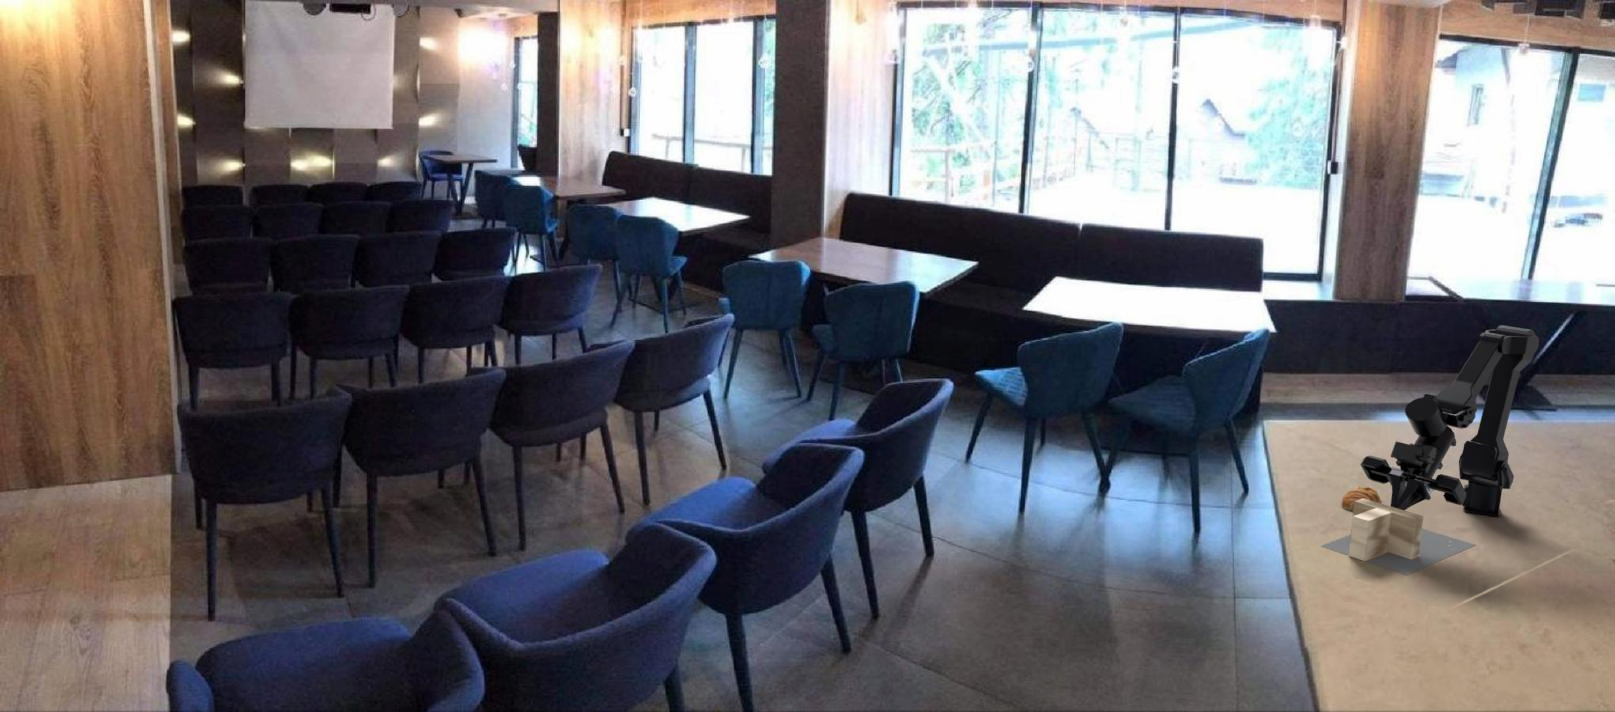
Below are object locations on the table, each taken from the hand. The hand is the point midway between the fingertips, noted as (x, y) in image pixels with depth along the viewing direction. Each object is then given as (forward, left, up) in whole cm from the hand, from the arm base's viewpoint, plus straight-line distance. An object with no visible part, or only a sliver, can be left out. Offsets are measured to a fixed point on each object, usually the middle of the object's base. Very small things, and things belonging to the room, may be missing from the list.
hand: (1392, 514), depth 225 cm
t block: (+2, +5, -6) cm, 9 cm away
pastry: (+7, -23, -7) cm, 25 cm away
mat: (-2, -1, -7) cm, 7 cm away
